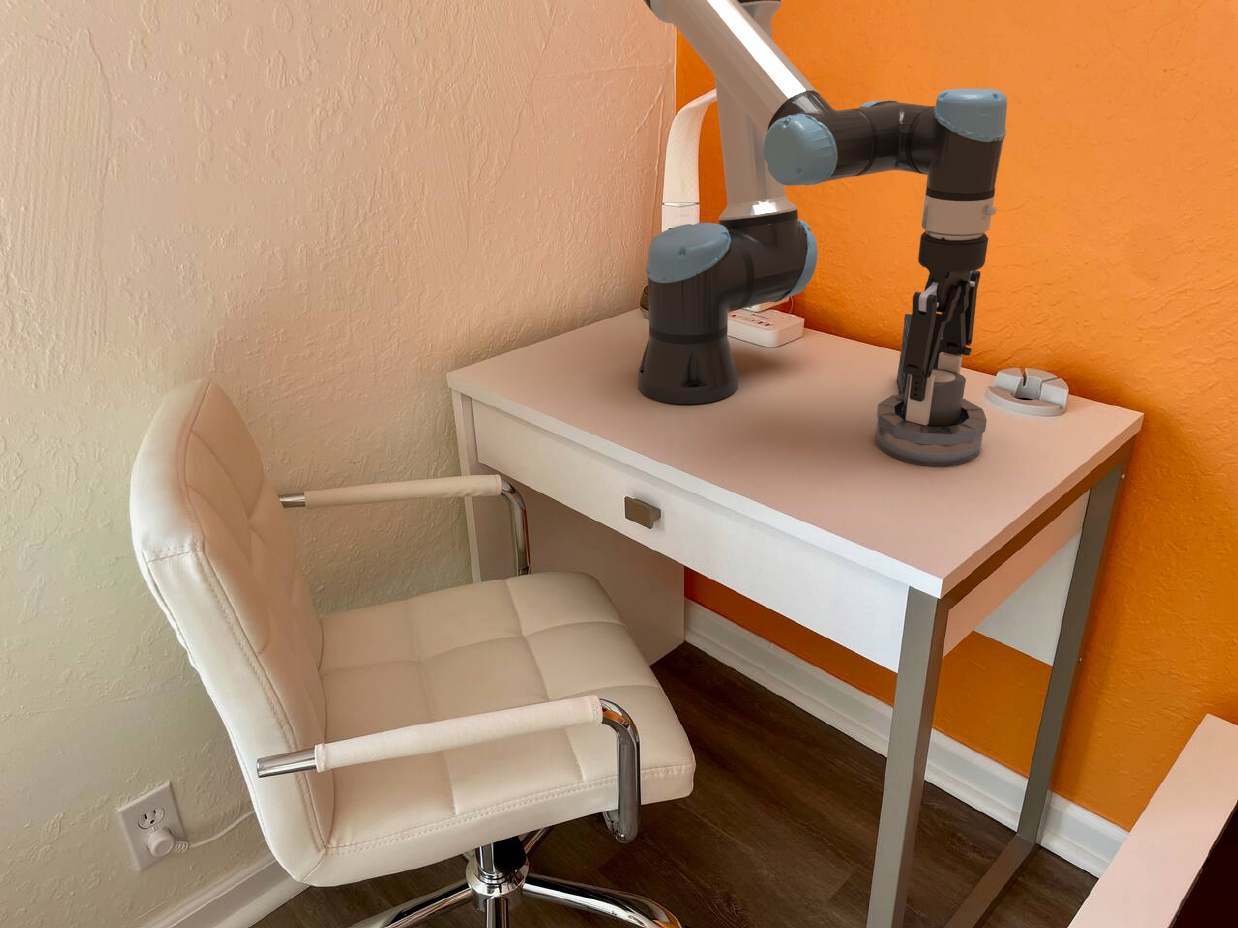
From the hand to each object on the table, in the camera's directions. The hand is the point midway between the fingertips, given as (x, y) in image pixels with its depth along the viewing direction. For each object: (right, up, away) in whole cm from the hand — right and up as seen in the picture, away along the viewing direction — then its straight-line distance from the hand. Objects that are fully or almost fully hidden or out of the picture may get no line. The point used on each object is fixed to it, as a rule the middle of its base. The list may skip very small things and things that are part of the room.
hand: (931, 411), depth 118 cm
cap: (0, -1, 0) cm, 1 cm away
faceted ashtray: (0, -4, +2) cm, 5 cm away
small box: (+4, +3, +17) cm, 18 cm away
